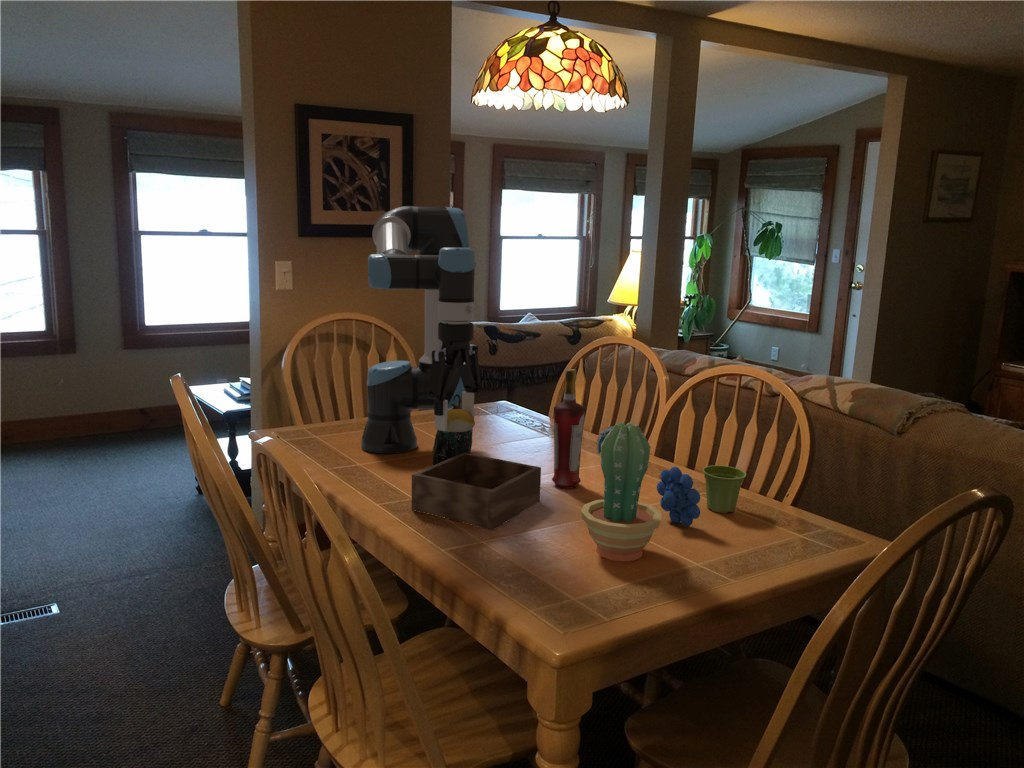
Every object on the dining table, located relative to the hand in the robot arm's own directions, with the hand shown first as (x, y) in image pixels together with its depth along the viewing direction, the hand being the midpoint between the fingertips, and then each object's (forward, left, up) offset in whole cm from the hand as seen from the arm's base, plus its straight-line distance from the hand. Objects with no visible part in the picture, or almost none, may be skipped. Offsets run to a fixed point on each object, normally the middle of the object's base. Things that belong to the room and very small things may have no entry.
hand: (454, 425), depth 173 cm
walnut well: (+5, +2, -18) cm, 19 cm away
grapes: (+45, +16, -18) cm, 51 cm away
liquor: (+15, +26, -18) cm, 35 cm away
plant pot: (+51, +31, -18) cm, 62 cm away
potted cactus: (+41, -4, -18) cm, 45 cm away
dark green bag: (-11, +17, -18) cm, 27 cm away
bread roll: (0, 0, -1) cm, 1 cm away
